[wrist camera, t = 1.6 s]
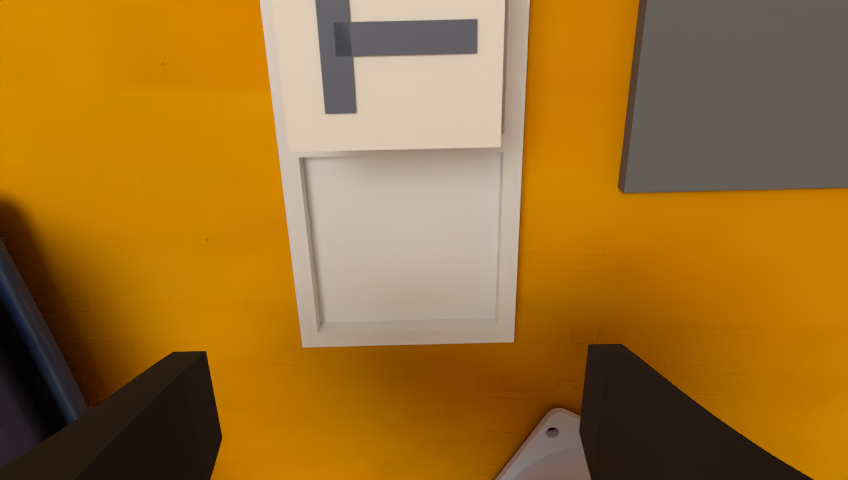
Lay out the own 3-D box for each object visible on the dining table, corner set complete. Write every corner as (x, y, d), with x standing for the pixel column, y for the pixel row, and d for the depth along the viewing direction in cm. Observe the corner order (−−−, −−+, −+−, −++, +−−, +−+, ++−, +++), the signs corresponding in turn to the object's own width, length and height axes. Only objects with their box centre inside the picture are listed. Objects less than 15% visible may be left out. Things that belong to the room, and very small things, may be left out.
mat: (941, 179, 20) (957, 184, 19) (618, 187, 20) (623, 192, 19) (1078, -219, 16) (1102, -227, 15) (663, -210, 16) (673, -217, 15)
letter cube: (479, 107, 18) (501, 147, 14) (320, 110, 18) (287, 152, 14) (482, -73, 16) (508, -96, 12) (304, -69, 16) (259, -91, 12)
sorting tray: (509, 327, 22) (513, 342, 21) (307, 332, 22) (302, 347, 21) (544, -482, 13) (553, -516, 13) (212, -475, 13) (197, -509, 13)
